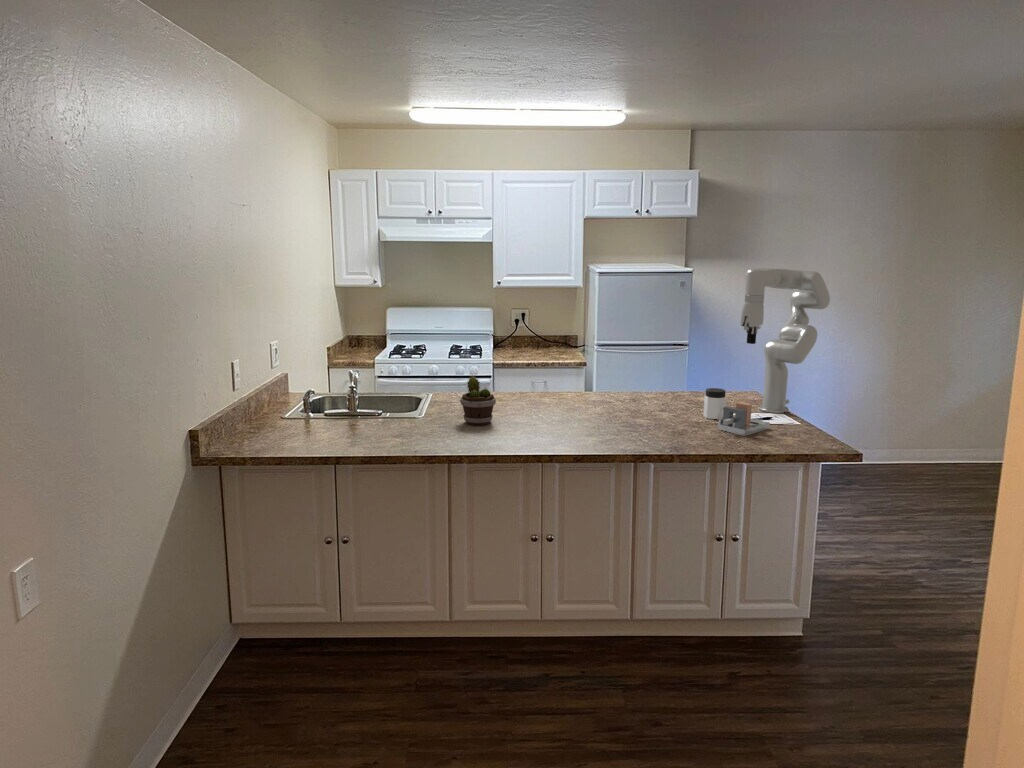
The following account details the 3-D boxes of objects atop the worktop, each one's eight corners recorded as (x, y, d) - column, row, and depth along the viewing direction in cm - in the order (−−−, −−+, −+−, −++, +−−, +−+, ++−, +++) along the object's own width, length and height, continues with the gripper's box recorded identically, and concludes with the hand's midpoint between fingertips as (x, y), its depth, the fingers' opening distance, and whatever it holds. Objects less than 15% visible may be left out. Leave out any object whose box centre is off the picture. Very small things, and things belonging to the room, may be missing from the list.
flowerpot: (503, 424, 296) (503, 376, 292) (469, 429, 288) (469, 380, 284) (485, 416, 308) (485, 370, 304) (453, 421, 300) (453, 373, 296)
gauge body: (743, 422, 300) (744, 400, 298) (769, 428, 291) (771, 405, 289) (717, 429, 289) (719, 406, 287) (744, 436, 280) (746, 412, 278)
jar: (714, 420, 303) (716, 392, 301) (699, 416, 310) (701, 389, 307) (728, 418, 308) (730, 390, 305) (713, 414, 314) (715, 387, 312)
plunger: (740, 420, 292) (742, 401, 291) (758, 424, 286) (760, 405, 285) (718, 426, 283) (720, 407, 281) (737, 431, 277) (738, 410, 275)
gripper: (756, 297, 306) (753, 340, 309) (735, 299, 296) (732, 344, 300) (772, 299, 300) (768, 342, 304) (752, 301, 291) (749, 346, 294)
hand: (751, 343), depth 302 cm, fingers closed
